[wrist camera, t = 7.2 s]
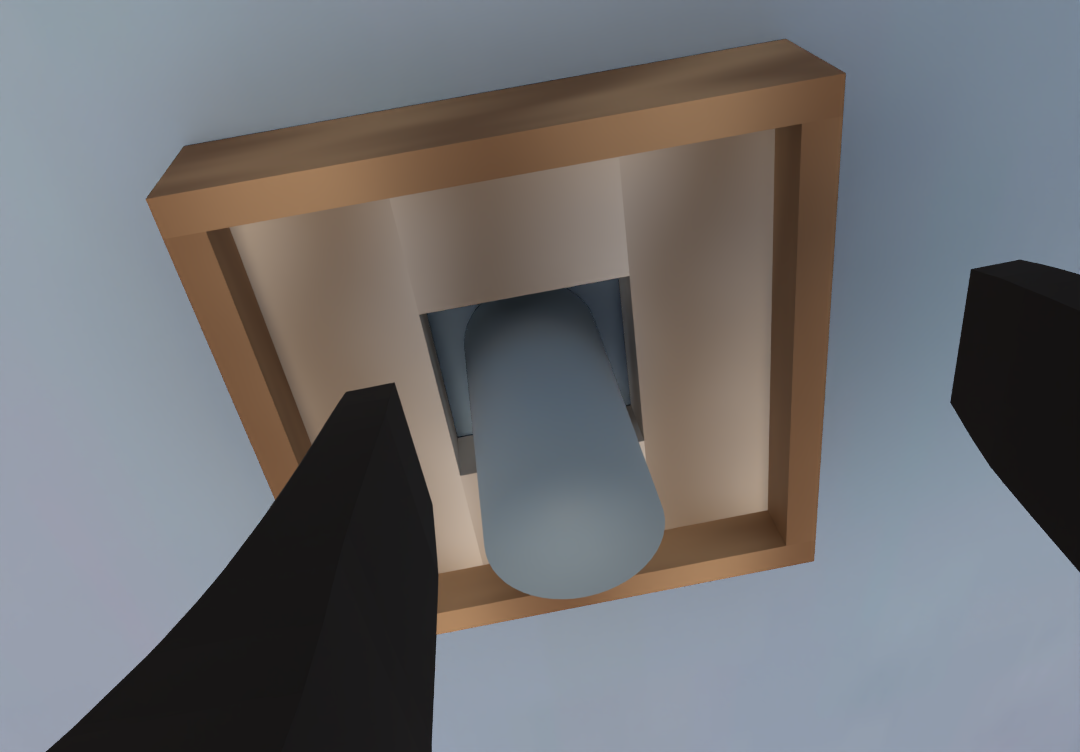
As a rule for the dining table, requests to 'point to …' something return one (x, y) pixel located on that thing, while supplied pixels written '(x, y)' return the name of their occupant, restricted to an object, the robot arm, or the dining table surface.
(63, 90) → the dining table surface
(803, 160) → the tray box
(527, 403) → the peg
